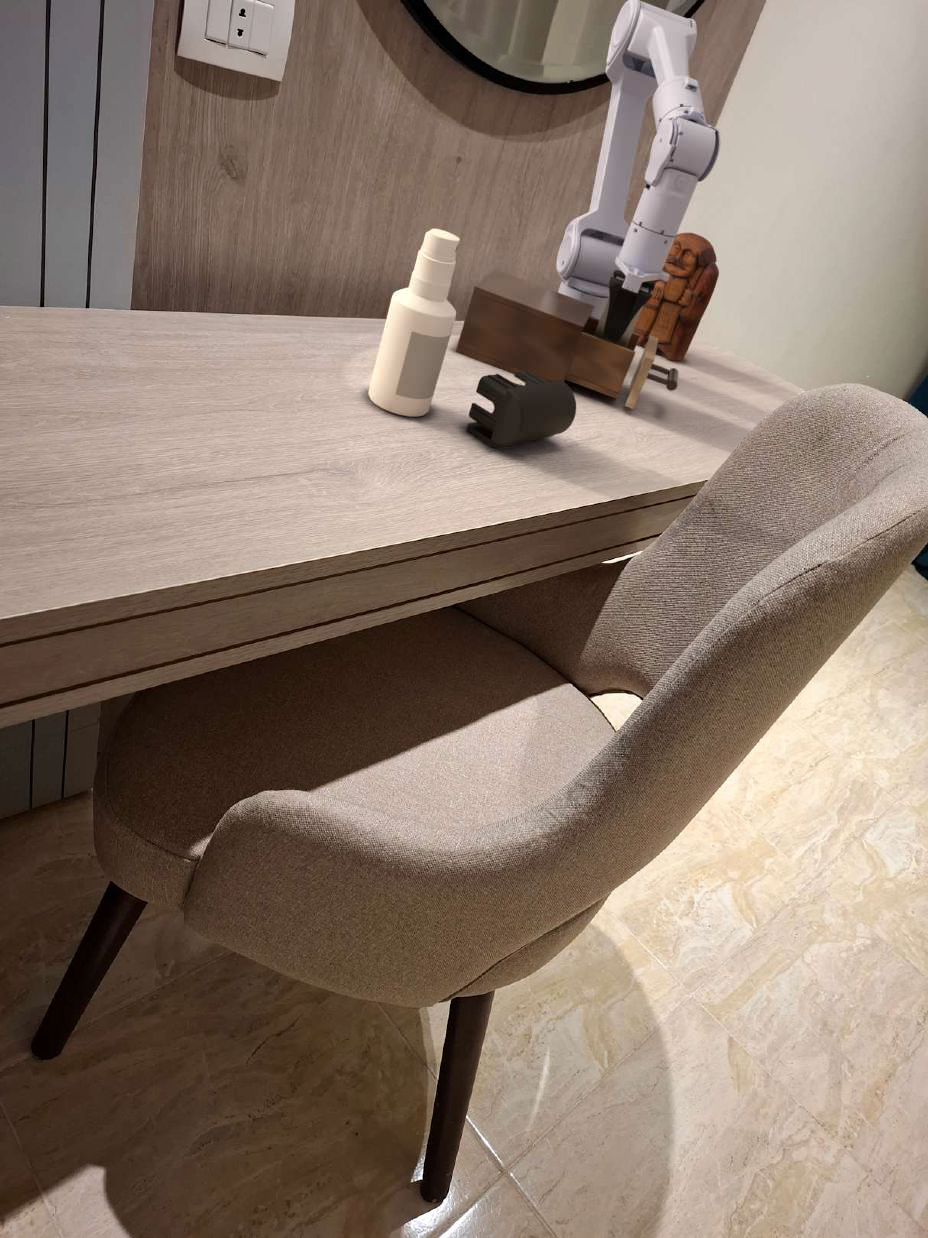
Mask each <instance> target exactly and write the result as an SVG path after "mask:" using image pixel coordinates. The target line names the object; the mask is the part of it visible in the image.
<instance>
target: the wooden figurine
mask: <svg viewBox="0 0 928 1238" xmlns="http://www.w3.org/2000/svg"><path fill="white" fill-rule="evenodd" d="M717 261H718V260H717V255H716V252H715V248H714V246H713V245H712V243H711V242H710V240H708V239H707V238H705V236H702V235H700V234H697V233H694V232H681V233H677V235H676V237H675V239H674V242H673V244H672V247H671V249H670V252H669V254H668V257H667V259H666V262H665V264H664V267H663V269H662V271H663V272H666V273H668V274H670V276H669V279H668V281H663V280H660V279H659V280H653V281H654V282H655V287H654V289H652V290H651V291H650V292H649V293H651V294H652V297H651V298H650V299H649V301H648V302H646V303H645V304H644V305H643V307H642V309H641V312H640V314H639V317H638V319H637V322H636V324H635V327H634V329H633V332H635V333H637V334H640V337H639V340H638V342H637V345H636V346H642V347H643V348H645V347H646V345H647V342H648V340H649V337H650V336H653V337H656V338H658V343H657V348H656V353H655V354H658V355H663V356H664V357H666V358H667V359H668V360H670V361H681V360H684V358H685V357H686V354H687V352H688V351H689V348H690V346H691V344H692V341H693V339H694V337H695V335H696V332H697V330H698V328H699V326H700V323H701V321H702V318H703V316H704V315H705V312H706V310H707V308H708V306H709V304H710V301H711V299H712V297H713V295H714V292H715V289H716V286H717V283H718V279H719V276H720V270H719V267H718V265H717V264H716V263H717Z"/></svg>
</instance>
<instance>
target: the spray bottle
mask: <svg viewBox="0 0 928 1238" xmlns="http://www.w3.org/2000/svg"><path fill="white" fill-rule="evenodd" d="M460 240H461V239H460V237H459V236H457V235H455V234H454V233H451V232H449V231H446V230H443V229H439V228H431V229H430V230H428V231H426V232H425V235H424V238H423V243H422V245H421V246H420V249H419V250H418V252H417V256H416V259H415V260H416V261H415V265H414V268H413V271H412V272H411V277H410V281H409V284H408V287H404V288H401V289H398V290H396V291H394V292H393V293H392V296H391V299H390V302H389V307H388V311H387V315H386V319H385V324H384V328H383V330H382V331H383V332H382V335H381V339H380V344H379V349H378V352H377V356H376V360H375V364H374V367H373V372H372V376H371V380H370V383H369V389H368V397H369V399H370V400H371V401H372V403H374V404H375V406H377V407H379V408H381V409H383V410H385V411H387V412H390V413H392V414H396V415H399V416H405V417H422V416H425V415H426V414H427V413H428V412H429V411H430V409H431V405H432V402H433V397H434V395H435V391H436V387H437V384H438V380H439V377H440V374H441V370H442V368H443V367H442V365H443V363H444V360H445V356H446V353H447V349H448V346H449V342H450V339H451V336H452V332H453V328H454V325H455V322H456V317H457V311H456V308H455V307H454V306H453V305H452V304H451V302H450V301H449V300H448V296H449V292H450V289H451V286H452V279H453V275H454V271H455V269H456V264H457V261H456V258H457V252H458V248H459V245H460Z"/></svg>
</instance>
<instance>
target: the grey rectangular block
mask: <svg viewBox="0 0 928 1238" xmlns="http://www.w3.org/2000/svg"><path fill="white" fill-rule="evenodd" d="M616 278H617V279H620V280H623V281H625V278H626V277H625V278H624V279H623V278H620V277H618V276H617V277H616ZM640 290H642V291H645V292H648V291H649V288H647V287H645V286H642V283H641V286H640ZM642 307H643V306H642ZM642 307H641V308H640V310H639V311H638V312H637V313H636V315H635V316H634V318H633V319H632V321H631V322H630V324H629V326H628V328H627V329H626V331H625V333H624V334H623V336H622V337H621V339H620V340H619V341H618V342H617V341H614V340H611V339H609V338H606V337H604V327H605V322H606V318H607V313H608V308H609V296H608V299H607V301H606V304H605V307H604V309H603V312H602V315H601V317H600V320H599V323H598V325H597V328H596V331H595V333H594V336H595V337H598V338H601V339H603V340H606V341H609V342H611V343H614V344H617V345H620V346H622V347H625V348H626V347H627V344H628V342H629V339H630V337H631V334H632V332H633V329H634V327H635V324H636V322H637V319H638V317H639V314H640V312H641V309H642Z"/></svg>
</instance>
